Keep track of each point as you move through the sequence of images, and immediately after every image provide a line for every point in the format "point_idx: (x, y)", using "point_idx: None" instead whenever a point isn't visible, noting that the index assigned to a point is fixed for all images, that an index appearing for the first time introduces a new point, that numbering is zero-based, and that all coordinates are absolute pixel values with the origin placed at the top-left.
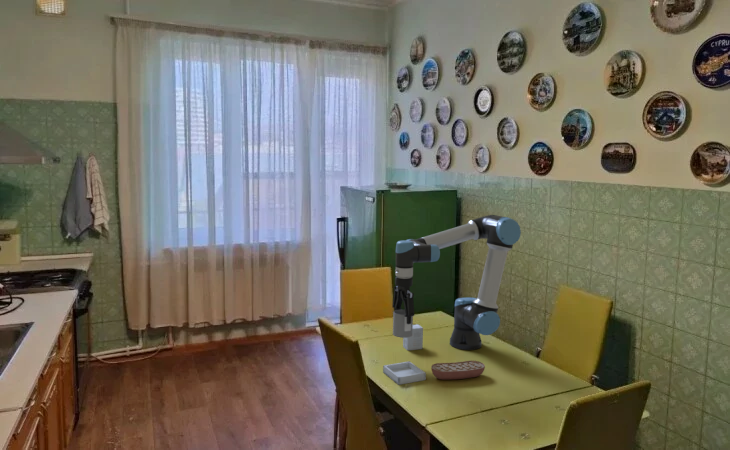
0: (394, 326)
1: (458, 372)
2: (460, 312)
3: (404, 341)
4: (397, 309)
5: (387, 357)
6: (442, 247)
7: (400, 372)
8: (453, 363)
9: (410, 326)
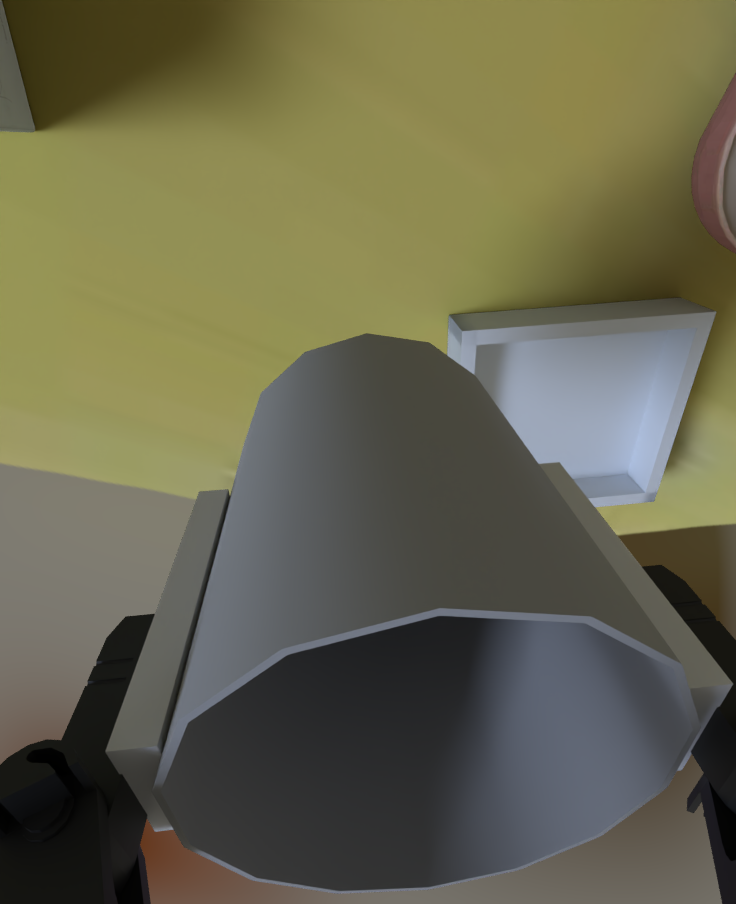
0: (396, 641)
1: None
2: None
3: None
4: (133, 830)
5: (200, 385)
6: None
7: (518, 420)
8: None
9: (591, 510)
